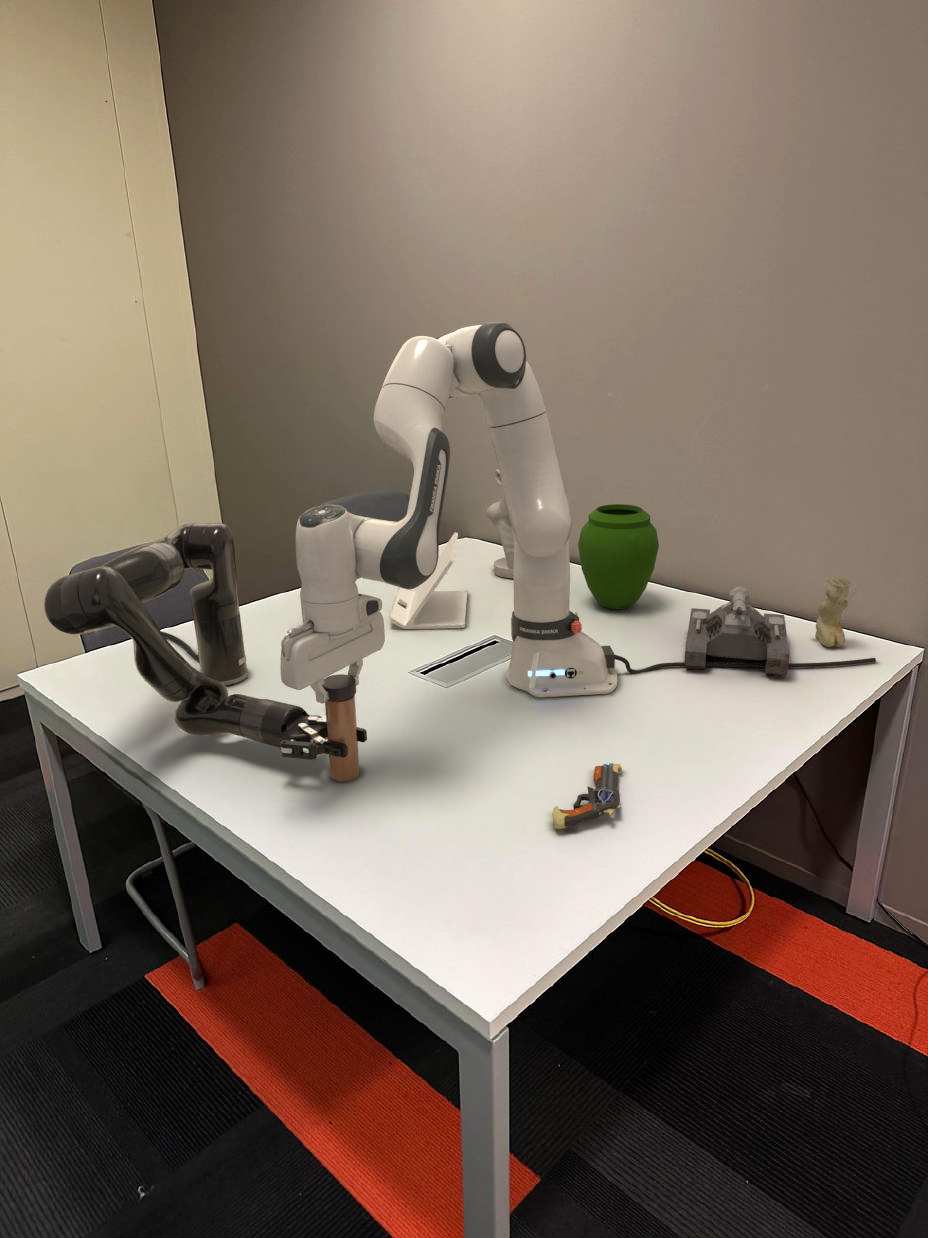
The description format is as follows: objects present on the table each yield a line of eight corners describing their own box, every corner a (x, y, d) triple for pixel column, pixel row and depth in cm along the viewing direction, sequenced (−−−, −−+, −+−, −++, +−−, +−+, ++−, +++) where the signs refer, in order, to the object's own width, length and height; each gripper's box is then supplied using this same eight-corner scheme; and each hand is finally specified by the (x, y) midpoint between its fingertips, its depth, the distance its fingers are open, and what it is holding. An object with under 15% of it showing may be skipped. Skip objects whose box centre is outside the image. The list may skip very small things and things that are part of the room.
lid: (316, 691, 137) (315, 680, 136) (345, 682, 140) (345, 671, 139) (332, 703, 133) (331, 692, 132) (362, 694, 136) (361, 682, 135)
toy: (689, 628, 198) (694, 566, 192) (781, 635, 192) (788, 571, 187) (683, 672, 175) (688, 603, 170) (787, 681, 170) (795, 610, 164)
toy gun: (550, 818, 123) (620, 816, 121) (560, 760, 141) (621, 758, 139) (552, 835, 124) (621, 833, 122) (562, 775, 142) (622, 773, 140)
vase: (599, 587, 227) (601, 497, 218) (668, 600, 216) (673, 505, 208) (562, 608, 212) (564, 513, 204) (634, 623, 202) (639, 523, 193)
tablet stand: (467, 593, 225) (465, 531, 219) (465, 628, 202) (462, 559, 196) (399, 594, 226) (395, 532, 220) (388, 629, 203) (384, 560, 197)
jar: (350, 783, 139) (344, 694, 133) (324, 778, 140) (317, 689, 134) (364, 769, 143) (359, 681, 137) (339, 763, 145) (333, 677, 139)
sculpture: (821, 649, 184) (830, 583, 179) (808, 637, 191) (816, 573, 185) (848, 649, 184) (858, 582, 179) (834, 636, 191) (843, 572, 185)
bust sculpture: (503, 593, 225) (502, 460, 212) (483, 567, 247) (480, 445, 234) (562, 587, 228) (563, 456, 215) (536, 562, 250) (536, 441, 237)
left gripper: (242, 721, 138) (328, 743, 131) (297, 686, 150) (379, 704, 143) (248, 762, 141) (332, 785, 134) (302, 724, 153) (382, 744, 145)
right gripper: (296, 638, 122) (305, 724, 127) (388, 597, 137) (393, 675, 142) (265, 629, 125) (276, 713, 130) (359, 590, 141) (365, 667, 146)
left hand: (355, 743), depth 138 cm, fingers closed on jar, 5 cm apart
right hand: (338, 693), depth 136 cm, fingers closed on lid, 5 cm apart
